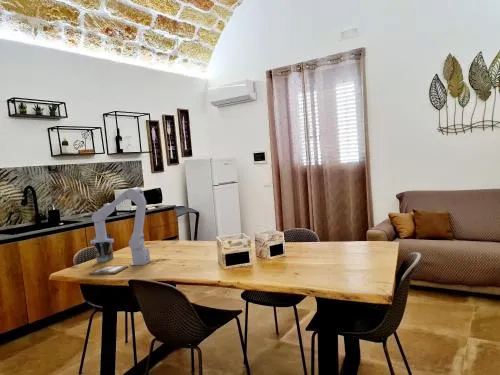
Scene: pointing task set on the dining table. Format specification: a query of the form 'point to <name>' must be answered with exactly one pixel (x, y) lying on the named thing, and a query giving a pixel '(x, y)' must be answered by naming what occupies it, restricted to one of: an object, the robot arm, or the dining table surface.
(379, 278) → the dining table surface
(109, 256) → the coffee box
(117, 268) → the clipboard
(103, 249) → the marker
